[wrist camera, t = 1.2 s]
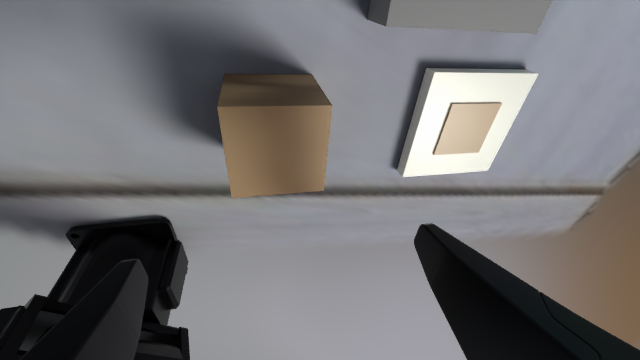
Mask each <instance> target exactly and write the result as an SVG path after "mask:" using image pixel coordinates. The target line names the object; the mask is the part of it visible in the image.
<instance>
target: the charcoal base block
mask: <svg viewBox="0 0 640 360" xmlns="http://www.w3.org/2000/svg"><path fill="white" fill-rule="evenodd" d="M551 2H552V0H370V5H369V12H368V19H367V20H370V21H373V22H376V23H378V24H381V25H384V26H391V27H411V28H430V29H450V30H469V31H489V32H509V33H528V34H537V31H538V29H539V27H540V25H541V23H542V21H543V19H544V17H545V15H546V13H547V11H548V9H549V6H550V4H551Z"/></svg>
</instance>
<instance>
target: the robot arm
mask: <svg viewBox="0 0 640 360" xmlns="http://www.w3.org/2000/svg"><path fill="white" fill-rule="evenodd" d="M162 225H165V226H162ZM66 237H67V238H68V240H69V241H70V242H71V244H72V245H73V247H74V248H75V249H76V251H75V253H74V255H73V256H72V258H71V259H70V261H69V263H68V264H67V266H66V268H65V269H64V271H63V272H62V274H61V276H60V277H59V279H58V280H57V282H56V284H55V285H54V287H53V288H52V290H51V292H50V293H49V295H48V296H47V297H45V296H40V295H36V294H35V295H34V296H33V297H32V298H31V299H30V300H29V302H28V303H27V304H26V305H25V306H18V307H11V308H4V309H1V310H0V360H190V353H189V338H188V329H187V328H182V327H179V328H176V327H171V326H167V323H168V319H169V315H170V310H171V309H176V308H177V307H178V306H179V304H180V299H181V294H182V290H183V284H184V280H185V275H186V273H187V265H188V259H187V257H186V254H185V251H184V248H183V245H182V243H181V242H180V241H179V240H177V237H176V235H175V232H174V229H173V226H172V224H171V222H170V221H169V220H167V219H153V220H142V221H131V222H121V223H110V224H99V225H89V226H78V227H72V228H70V229H69V230H68V232H67V233H66ZM414 245H415V248H416V251H417V254H418V256H419V259H420V261H421V264H422V267H423V269H424V272H425V274H426V277H427V280H428V282H429V284H430V287H431V289H432V291H433V293H434V295H435V297H436V299H437V301H438V303H439V305H440V307H441V309H442V311H443V313H444V315H445V317H446V319H447V321H448V323H449V325H450V326H451V329H452V331H453V332H454V334H455V336H456V339H457V340H458V342H459V344H460V346H461V348H462V350H463V352H464V354H465V356H466V358H467V360H640V350H638V349H637V348H635V347H633V346H631V345H630V344H628V343H626V342H624V341H623V340H621V339H619V338H617V337H616V336H614V335H612V334H610V333H608V332H607V331H605V330H603V329H601V328H600V327H598V326H596V325H594V324H593V323H591V322H589V321H587V320H585V319H584V318H582V317H581V316H579V315H577V314H575V313H573V312H572V311H570V310H569V309H567V308H566V307H564V306H562V305H560V304H559V303H557V302H556V301H554V300H553V299H551V298H549V297H548V296H546V295H545V294H543V293H541V292H539V291H538V290H536V289H535V288H533V287H532V286H530V285H529V284H527V283H526V282H524V281H523V280H521V279H519V278H518V277H516V276H515V275H513V274H512V273H510V272H508V271H507V270H505V269H504V268H502V267H501V266H499V265H497V264H496V263H494V262H493V261H491V260H489V259H488V258H486V257H485V256H483V255H482V254H480V253H478V252H477V251H475V250H474V249H472V248H471V247H469V246H467V245H466V244H464V243H463V242H461V241H460V240H458V239H456V238H455V237H453V236H452V235H450V234H449V233H447V232H445V231H444V230H442V229H441V228H439V227H438V226H436V225H434V224H432V223H428V224H422V225H420V227H419V229H418V231H417V234H416V236H415V239H414Z"/></svg>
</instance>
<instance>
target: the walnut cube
mask: <svg viewBox="0 0 640 360" xmlns="http://www.w3.org/2000/svg"><path fill="white" fill-rule="evenodd" d="M217 110H218V116H219V122H220V128H221V134H222V140H223V146H224V153H225V159H226V165H227V171H228V177H229V183H230V190H231V196H232V198H237V197H250V196H262V195H274V194H287V193H299V192H312V191H324V183H325V173H326V162H327V152H328V142H329V132H330V122H331V112H332V104H331V103H330V101H329V100H328V98H327V97H326V95H325V94H324V92H323V91H322V89H321V88H320V86H319V85H318V83H317V81H316V80H315V78H314V77H313V75H300V74H225V75H224V79H223V83H222V88H221V92H220V96H219V101H218V105H217Z"/></svg>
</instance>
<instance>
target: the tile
mask: <svg viewBox="0 0 640 360" xmlns="http://www.w3.org/2000/svg"><path fill="white" fill-rule="evenodd" d="M537 76H538V73H535V72H532V71H529V70H517V69H458V68H426V71H425V74H424V78H423V81H422V85H421V88H420V92H419V95H418V99H417V102H416V106H415V109H414V113H413V116H412V120H411V123H410V127H409V130H408V133H407V137H406V140H405V144H404V147H403V151H402V154H401V158H400V161H399V165H398V168H397V171H398V172H399V173H400V175H401V176H402V177H411V176H424V175H437V174H450V173H463V172H476V171H488V169H489V167H490V165H491V163H492V161H493V159H494V158H495V156H496V154H497V152H498V150H499V148H500V146H501V144H502V142H503V140H504V139H505V137H506V135H507V133H508V131H509V129H510V127H511V125H512V123H513V121H514V120H515V118H516V116H517V114H518V112H519V110H520V108H521V106H522V104H523V103H524V101H525V99H526V97H527V95H528V93H529V91H530V89H531V87H532V85H533V84H534V82H535V80H536V78H537Z"/></svg>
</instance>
